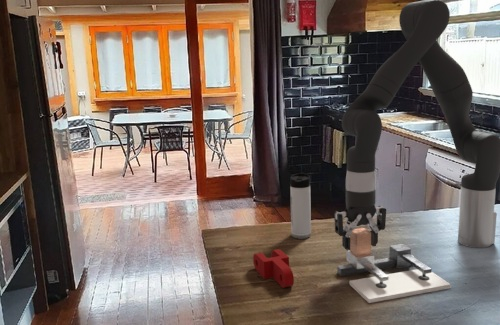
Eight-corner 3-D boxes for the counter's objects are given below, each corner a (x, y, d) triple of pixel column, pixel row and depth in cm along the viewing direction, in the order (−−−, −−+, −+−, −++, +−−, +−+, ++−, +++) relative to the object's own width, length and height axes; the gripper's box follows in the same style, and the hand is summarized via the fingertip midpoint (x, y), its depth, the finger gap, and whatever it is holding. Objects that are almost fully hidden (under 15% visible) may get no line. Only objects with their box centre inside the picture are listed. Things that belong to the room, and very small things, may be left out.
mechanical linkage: (253, 268, 136) (253, 251, 135) (277, 263, 139) (276, 246, 138) (276, 293, 122) (275, 274, 121) (302, 287, 124) (302, 268, 123)
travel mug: (312, 232, 160) (312, 173, 156) (308, 239, 154) (307, 178, 150) (294, 231, 162) (293, 172, 158) (289, 238, 156) (287, 177, 152)
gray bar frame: (408, 259, 137) (408, 242, 136) (441, 281, 123) (442, 263, 122) (335, 271, 132) (335, 253, 131) (361, 296, 118) (362, 276, 117)
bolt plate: (425, 271, 130) (425, 267, 129) (450, 288, 120) (450, 283, 120) (349, 284, 124) (349, 280, 124) (369, 303, 115) (369, 298, 114)
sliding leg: (363, 260, 134) (363, 226, 132) (393, 284, 120) (394, 247, 118) (346, 262, 133) (346, 228, 131) (375, 288, 119) (376, 250, 116)
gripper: (378, 180, 132) (377, 238, 135) (328, 186, 128) (328, 246, 132) (393, 187, 124) (391, 248, 128) (341, 193, 121) (341, 256, 124)
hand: (360, 247), depth 130 cm, fingers open, 7 cm apart
